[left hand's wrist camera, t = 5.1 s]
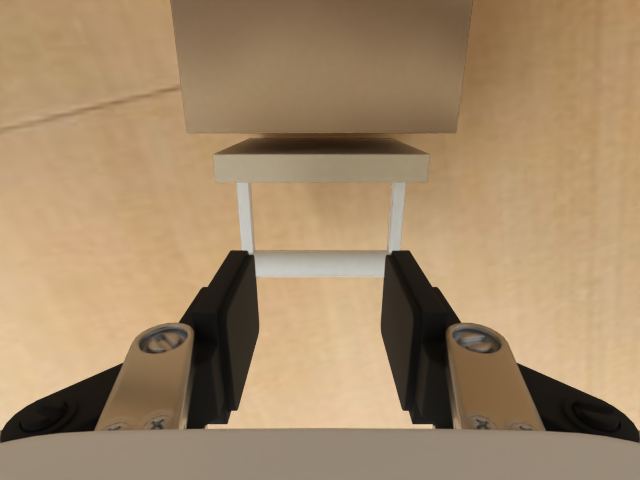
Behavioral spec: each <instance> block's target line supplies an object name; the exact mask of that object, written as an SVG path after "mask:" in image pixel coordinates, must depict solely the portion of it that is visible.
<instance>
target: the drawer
mask: <svg viewBox="0 0 640 480" xmlns="http://www.w3.org/2000/svg"><path fill="white" fill-rule="evenodd" d="M429 160H430V154H428V153H425V152H423V151H421V150H418V149H416V148H413V147H411V146H409V145H406V144H404V143H402V142H399V141H397V140H395V139H392V138H250V139H247V140H245V141H243V142H240V143H238V144H236V145H233V146H231V147H229V148H227V149H224V150H222V151H220V152H217V153H215V154H213V163H214V173H215V182H216V183H236V184H237V196H238V208H239V221H240V233H241V245H242V250H241V251H248V253H249V255H254V258H255V270H256V277H384V270H385V257H386V255H391V253H392V251H401V250H400V247H401V235H402V223H403V211H404V199H405V187H406V183H427V179H428V169H429ZM251 183H392V184H391V198H390V213H389V227H388V241H387V250H255V239H254V224H253V209H252V194H251Z"/></svg>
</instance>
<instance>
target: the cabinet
mask: <svg viewBox="0 0 640 480" xmlns="http://www.w3.org/2000/svg"><path fill="white" fill-rule="evenodd" d="M170 1H171V9H172V17H173V25H174V33H175V42H176V50H177V58H178V66H179V74H180V82H181V90H182V98H183V106H184V114H185V123H186V131H187V133H456V131H457V123H458V115H459V107H460V99H461V91H462V83H463V75H464V67H465V59H466V51H467V44H468V36H469V28H470V20H471V12H472V4H473V0H170Z"/></svg>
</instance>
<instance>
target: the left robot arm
mask: <svg viewBox="0 0 640 480" xmlns="http://www.w3.org/2000/svg"><path fill="white" fill-rule="evenodd" d="M258 334H259V314H258V299H257V285H256V270H255V258H254V255H249V253H248V251H230V252H229V254H228V256H227V257H226V259H225V260H224V262H223V264H222V265H221V267H220V268H219V270H218V272H217V273H216V275H215V276H214V278H213V279H212V281H211V283H210V284H209V286H208V287H203V288H202V289H201V290H200V291H199V293H198V294H197V296H196V297H195V299H194V300H193V302H192V303H191V305H190V306H189V308H188V309H187V311H186V312H185V314H184V315H183V317H182V318H181V320H180V321H179V323H166V324H161V325H157V326H154V327H152V328H149V329H147V330H146V331H144V332H142V333H141V334H140V335H138V336H137V337H136V338H135V340H134V341H133V342H132V344H131V347H130V349H129V351H128V354H127V356H126V358H125V361H124V363H122V364H119V365H117V366H115V367H113V368H110V369H108V370H106V371H103V372H101V373H99V374H97V375H94V376H92V377H90V378H88V379H85V380H83V381H81V382H78V383H76V384H74V385H72V386H69V387H67V388H65V389H62V390H60V391H58V392H56V393H53V394H51V395H49V396H47V397H44V398H42V399H39V400H37V401H36V402H34V403H32V404H30V405H28V406H26V407H25V408H23V409H22V410H21V411H19V412H18V413H16V414H15V415H14V416H13V417H12V418H11V419H10V420H9V421H8V422H7V423H6V425H5V426H4V428H3V430H1V431H0V480H640V431H639V430H637V428H636V426H635V425H634V423H633V422H632V421H631V420H630V419H629V418H628V417H627V416H626V415H625V414H624V413H622V412H621V411H619V410H618V409H617V408H615V407H614V406H612V405H610V404H608V403H607V402H605V401H603V400H601V399H598V398H596V397H593V396H591V395H589V394H587V393H584V392H582V391H580V390H578V389H575V388H573V387H571V386H568V385H566V384H564V383H562V382H559V381H557V380H555V379H552V378H550V377H548V376H546V375H543V374H541V373H539V372H537V371H534V370H532V369H530V368H527V367H525V366H523V365H521V364H518V363H516V361H515V358H514V356H513V354H512V351H511V349H510V347H509V344H508V342H507V341H506V340H505V338H504V337H503V336H502V335H500V334H499V333H498V332H496V331H494V330H493V329H491V328H488V327H486V326H483V325H479V324H474V323H461V322H460V320H459V318H458V317H457V315H456V314H455V312H454V311H453V309H452V308H451V306H450V305H449V303H448V302H447V300H446V299H445V297H444V296H443V294H442V293H441V291H440V290H439V289H438V288H437V287H432V286H431V284H430V283H429V281H428V279H427V278H426V276H425V275H424V273H423V272H422V270H421V268H420V267H419V265H418V264H417V262H416V260H415V259H414V257H413V256H412V254H411V252H410V251H392V253H391V255H386V257H385V270H384V285H383V299H382V314H381V334H382V338H383V341H384V345H385V349H386V352H387V356H388V360H389V363H390V367H391V371H392V374H393V378H394V381H395V385H396V389H397V392H398V396H399V400H400V403H401V407H402V410H403V411H409V413H410V417H411V420H412V423H413V424H433V427H432V429H345V428H295V429H208V427H207V424H227V423H228V420H229V417H230V413H231V411H237V410H238V407H239V403H240V400H241V396H242V392H243V389H244V385H245V381H246V378H247V374H248V370H249V367H250V363H251V359H252V356H253V352H254V349H255V345H256V341H257V338H258Z"/></svg>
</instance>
